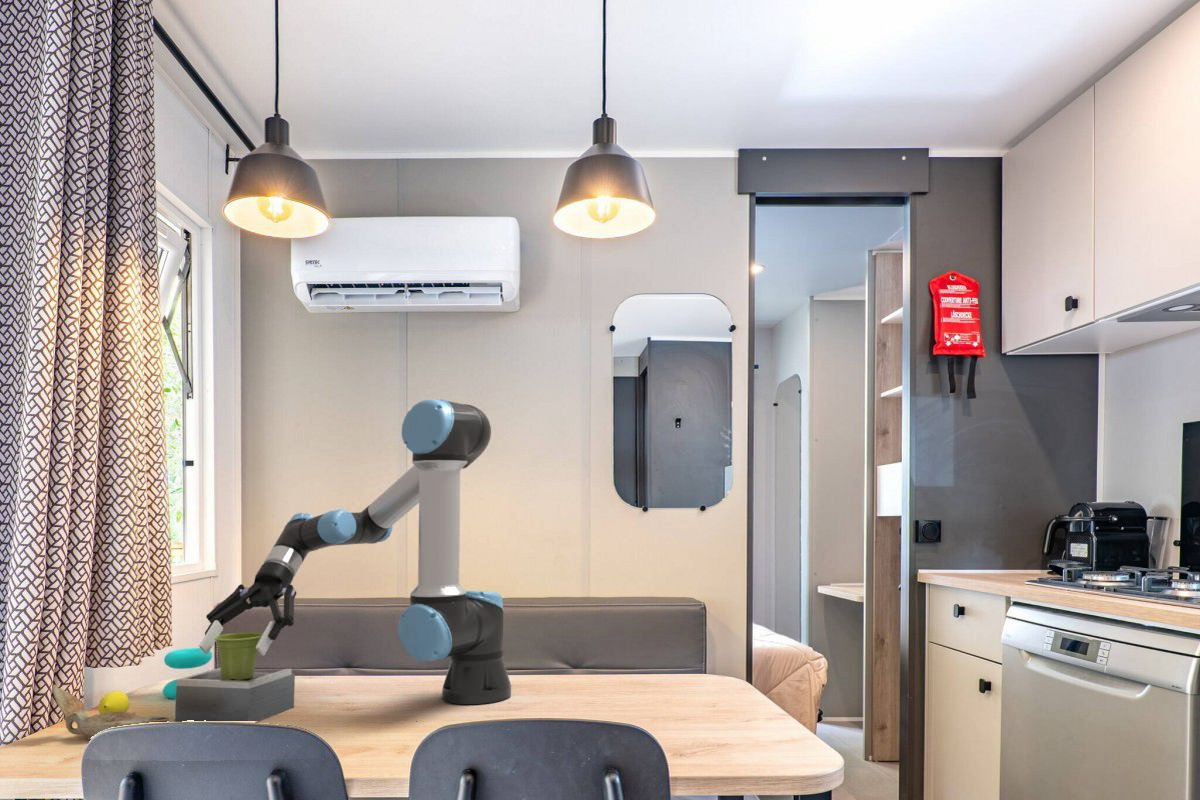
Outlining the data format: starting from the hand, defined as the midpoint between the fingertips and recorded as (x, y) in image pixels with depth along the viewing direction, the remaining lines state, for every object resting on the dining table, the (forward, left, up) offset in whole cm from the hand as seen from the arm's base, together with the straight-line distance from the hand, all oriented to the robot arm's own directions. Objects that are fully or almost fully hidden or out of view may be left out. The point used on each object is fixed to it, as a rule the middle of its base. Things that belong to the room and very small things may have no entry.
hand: (231, 650), depth 171 cm
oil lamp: (+13, +17, -14) cm, 25 cm away
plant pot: (0, -2, -6) cm, 7 cm away
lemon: (+24, +5, -13) cm, 28 cm away
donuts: (+24, -16, -13) cm, 32 cm away
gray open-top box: (+2, -2, -13) cm, 13 cm away
